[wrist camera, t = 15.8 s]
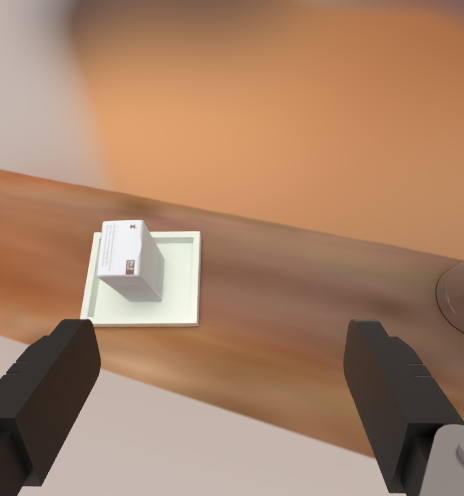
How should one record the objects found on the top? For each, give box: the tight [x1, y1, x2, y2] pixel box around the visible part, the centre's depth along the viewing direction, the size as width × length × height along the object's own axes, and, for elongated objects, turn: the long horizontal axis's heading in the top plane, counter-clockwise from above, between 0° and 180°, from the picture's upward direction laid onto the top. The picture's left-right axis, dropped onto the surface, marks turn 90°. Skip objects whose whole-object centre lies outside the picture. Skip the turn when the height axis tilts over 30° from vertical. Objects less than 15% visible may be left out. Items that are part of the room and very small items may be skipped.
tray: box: [80, 232, 202, 327], centre depth 43 cm, size 14×12×2 cm
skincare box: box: [97, 220, 164, 302], centre depth 38 cm, size 6×4×12 cm
